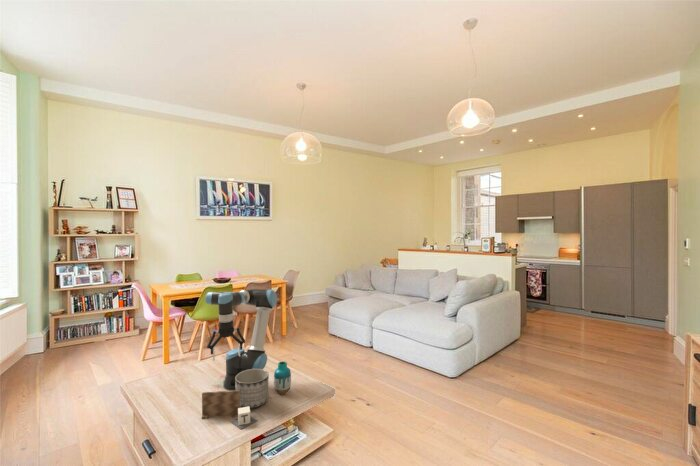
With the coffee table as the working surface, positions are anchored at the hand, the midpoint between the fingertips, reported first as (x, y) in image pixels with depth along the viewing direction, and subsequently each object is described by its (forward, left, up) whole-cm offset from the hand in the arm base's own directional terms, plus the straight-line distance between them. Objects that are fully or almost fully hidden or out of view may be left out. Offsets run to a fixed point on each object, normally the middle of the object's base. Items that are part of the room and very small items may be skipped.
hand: (226, 357), depth 186 cm
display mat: (+15, +1, -32) cm, 35 cm away
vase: (+7, +34, -32) cm, 47 cm away
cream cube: (+15, +1, -31) cm, 35 cm away
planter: (+2, +15, -32) cm, 35 cm away
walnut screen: (-1, -3, -32) cm, 32 cm away
